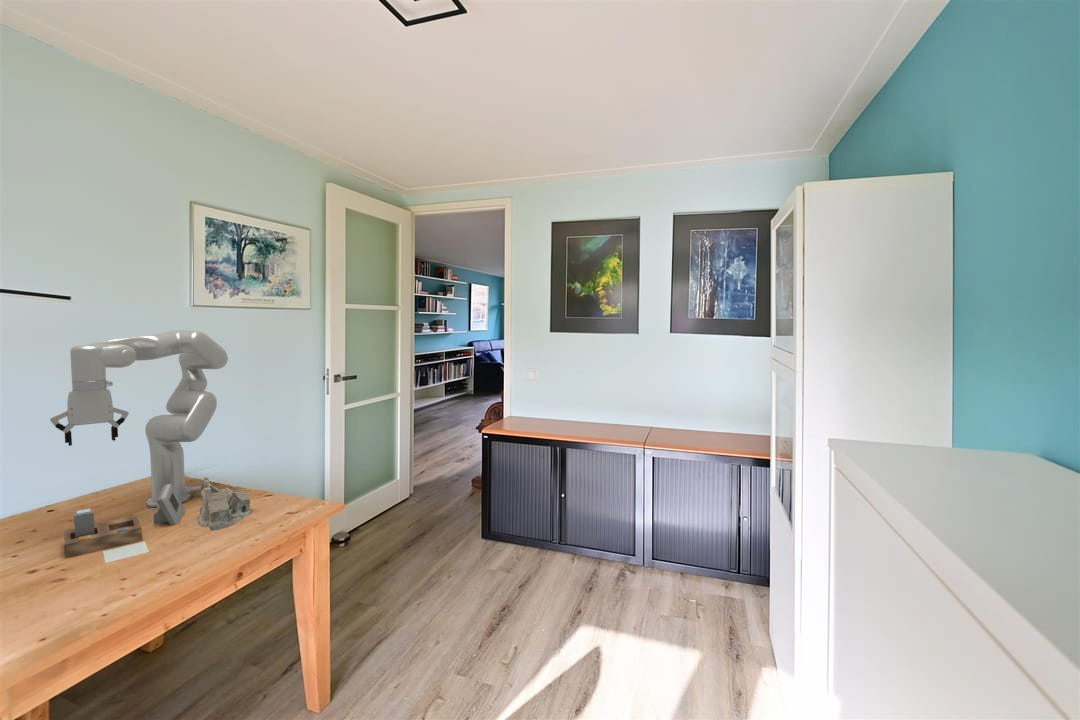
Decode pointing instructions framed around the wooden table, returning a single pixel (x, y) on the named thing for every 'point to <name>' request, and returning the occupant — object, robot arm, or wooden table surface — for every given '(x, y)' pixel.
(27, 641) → the wooden table surface
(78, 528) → the plug
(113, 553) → the tray
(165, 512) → the digital clock
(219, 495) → the ceramic cottage
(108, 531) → the socket block
